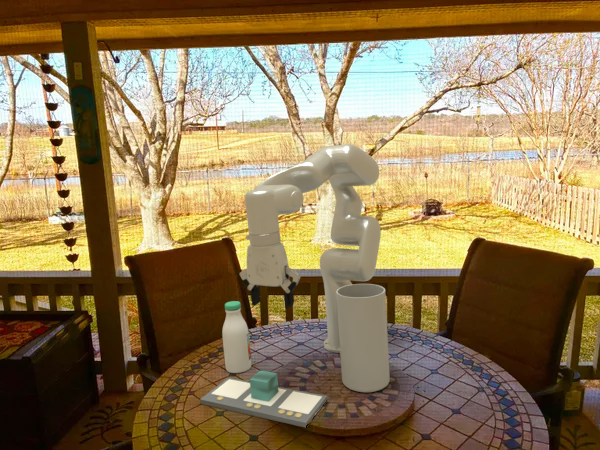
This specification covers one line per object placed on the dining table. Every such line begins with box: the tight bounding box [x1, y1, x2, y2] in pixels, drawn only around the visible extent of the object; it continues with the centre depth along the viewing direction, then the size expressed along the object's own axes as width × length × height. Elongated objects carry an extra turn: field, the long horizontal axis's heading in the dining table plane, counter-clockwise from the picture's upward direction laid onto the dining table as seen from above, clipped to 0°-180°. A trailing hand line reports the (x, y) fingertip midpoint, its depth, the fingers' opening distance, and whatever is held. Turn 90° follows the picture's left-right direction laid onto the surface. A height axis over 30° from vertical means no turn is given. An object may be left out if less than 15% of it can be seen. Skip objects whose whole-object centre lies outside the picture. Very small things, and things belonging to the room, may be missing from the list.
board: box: [199, 377, 328, 429], centre depth 109 cm, size 12×30×2 cm, turn 63°
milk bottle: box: [221, 300, 252, 374], centre depth 128 cm, size 8×8×20 cm
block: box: [249, 370, 279, 402], centre depth 109 cm, size 5×5×5 cm
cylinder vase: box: [336, 283, 391, 393], centre depth 114 cm, size 12×12×25 cm
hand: (272, 305), depth 110 cm, fingers open, 9 cm apart
